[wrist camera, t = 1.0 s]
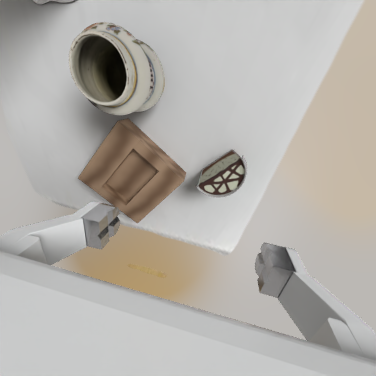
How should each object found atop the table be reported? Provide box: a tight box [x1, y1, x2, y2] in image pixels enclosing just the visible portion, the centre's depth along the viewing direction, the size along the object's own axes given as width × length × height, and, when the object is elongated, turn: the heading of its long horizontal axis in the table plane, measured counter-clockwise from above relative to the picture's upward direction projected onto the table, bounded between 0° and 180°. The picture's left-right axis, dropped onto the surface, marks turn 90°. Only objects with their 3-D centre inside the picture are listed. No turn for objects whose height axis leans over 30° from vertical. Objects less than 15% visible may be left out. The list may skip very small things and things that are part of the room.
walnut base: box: [78, 118, 186, 223], centre depth 47 cm, size 20×20×6 cm
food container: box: [196, 149, 247, 197], centre depth 42 cm, size 12×6×10 cm, turn 128°
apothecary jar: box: [69, 22, 164, 115], centre depth 31 cm, size 12×12×18 cm
